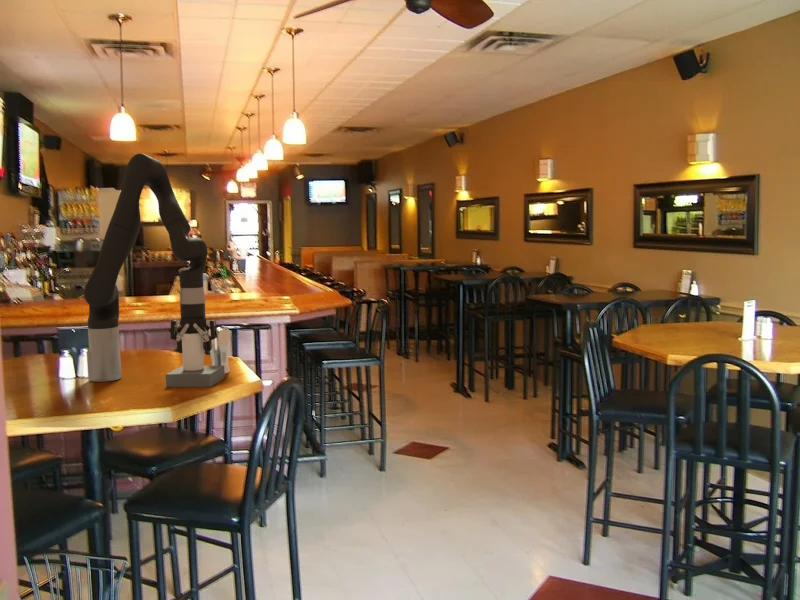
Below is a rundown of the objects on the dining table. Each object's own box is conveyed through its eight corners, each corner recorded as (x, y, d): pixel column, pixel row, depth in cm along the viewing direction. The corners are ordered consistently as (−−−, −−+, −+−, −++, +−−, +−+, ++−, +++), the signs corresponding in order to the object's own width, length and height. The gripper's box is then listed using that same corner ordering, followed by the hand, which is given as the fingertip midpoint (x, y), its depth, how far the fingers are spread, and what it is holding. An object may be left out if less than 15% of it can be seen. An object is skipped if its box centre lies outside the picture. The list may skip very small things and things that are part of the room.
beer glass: (220, 370, 245) (218, 327, 243) (235, 371, 241) (233, 328, 240) (205, 373, 239) (203, 329, 237) (220, 375, 235) (218, 330, 234)
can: (179, 371, 223) (177, 333, 222) (190, 367, 229) (188, 330, 228) (197, 372, 221) (195, 334, 220) (208, 368, 227) (206, 331, 226)
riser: (166, 387, 219) (165, 374, 218) (183, 377, 233) (182, 365, 232) (210, 386, 218) (210, 374, 218) (224, 377, 232) (224, 365, 231)
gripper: (165, 303, 220) (168, 354, 221) (210, 302, 219) (212, 354, 220) (175, 300, 227) (177, 350, 229) (218, 300, 226) (220, 350, 228)
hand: (194, 352), depth 224 cm, fingers open, 8 cm apart
